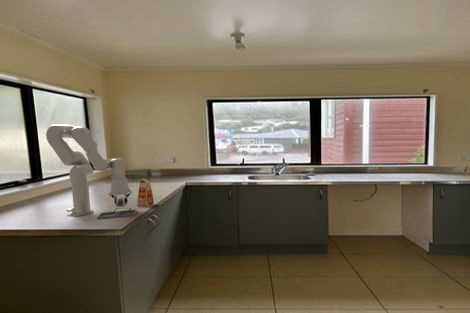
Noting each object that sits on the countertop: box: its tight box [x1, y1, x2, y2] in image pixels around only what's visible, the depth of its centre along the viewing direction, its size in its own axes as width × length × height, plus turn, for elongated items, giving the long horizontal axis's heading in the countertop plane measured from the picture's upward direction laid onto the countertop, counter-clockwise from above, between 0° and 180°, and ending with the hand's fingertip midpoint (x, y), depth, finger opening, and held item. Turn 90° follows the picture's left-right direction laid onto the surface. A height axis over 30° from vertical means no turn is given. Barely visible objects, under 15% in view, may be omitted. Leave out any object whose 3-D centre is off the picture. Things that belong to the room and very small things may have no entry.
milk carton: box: [136, 178, 155, 208], centre depth 192 cm, size 9×9×20 cm
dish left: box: [96, 211, 119, 220], centre depth 168 cm, size 10×10×2 cm
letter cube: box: [115, 196, 127, 207], centre depth 179 cm, size 5×5×5 cm
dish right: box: [116, 209, 138, 218], centre depth 170 cm, size 10×10×2 cm
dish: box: [110, 205, 131, 212], centre depth 180 cm, size 10×10×2 cm
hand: (121, 204), depth 179 cm, fingers closed on letter cube, 5 cm apart
